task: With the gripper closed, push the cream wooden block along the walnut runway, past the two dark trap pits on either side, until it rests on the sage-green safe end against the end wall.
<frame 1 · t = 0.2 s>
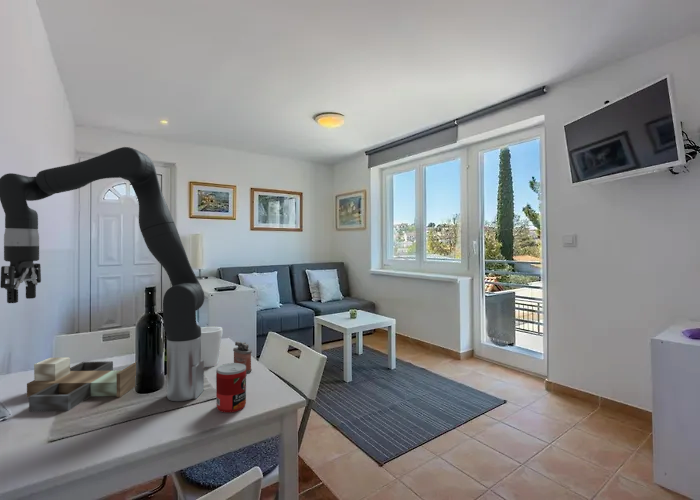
hand: (22, 300, 103), 28 cm above the table, tool pointing down, fingers open, 8 cm apart
block: (52, 376, 109), point 4 cm above the table, touching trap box
foam cup: (209, 364, 133), on the table
lighter: (242, 371, 127), on the table
canned food: (231, 407, 99), on the table
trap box: (85, 389, 109), on the table
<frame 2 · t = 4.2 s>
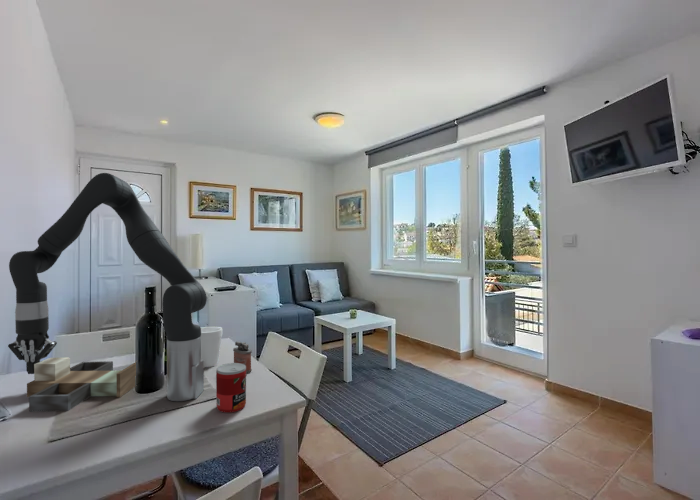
hand: (33, 373, 109), 5 cm above the table, tool pointing down, fingers closed
block: (52, 376, 109), point 4 cm above the table, touching gripper, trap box
everything else where it was.
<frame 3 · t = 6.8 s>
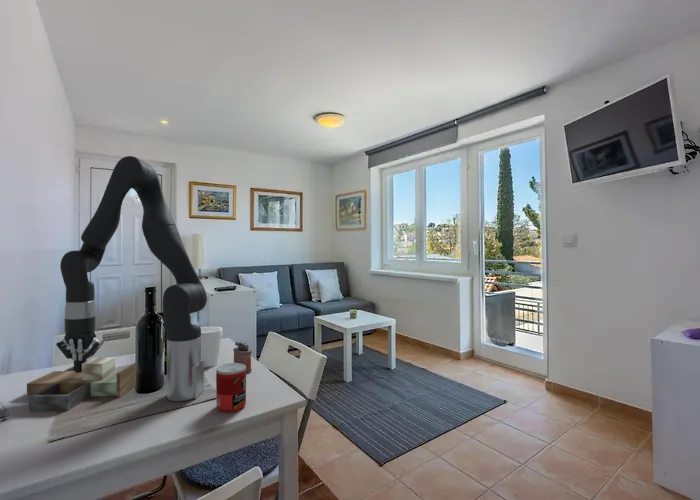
hand: (80, 371, 109), 6 cm above the table, tool pointing down, fingers closed
block: (98, 376, 109), point 4 cm above the table, touching gripper
everything else where it was.
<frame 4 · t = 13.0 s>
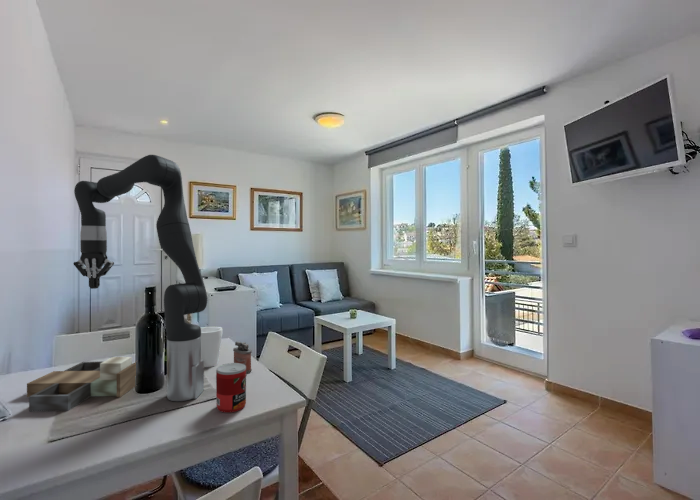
hand: (94, 288, 125), 29 cm above the table, tool pointing down, fingers closed
block: (116, 376, 110), point 4 cm above the table, touching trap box
everything else where it was.
at the end: block 1.2 cm from the target spot on the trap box, point 4.0 cm above the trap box's base; block tilted 0° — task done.
